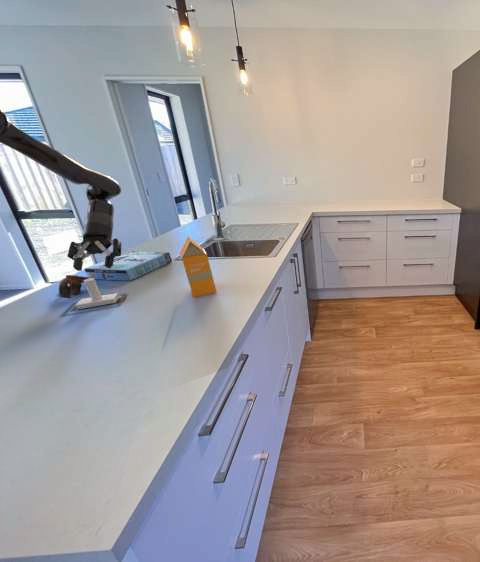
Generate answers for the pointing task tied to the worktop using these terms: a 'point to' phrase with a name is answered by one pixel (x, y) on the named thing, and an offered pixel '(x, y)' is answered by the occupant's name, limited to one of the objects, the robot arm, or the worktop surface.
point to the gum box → (129, 266)
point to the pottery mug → (71, 285)
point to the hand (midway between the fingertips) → (93, 268)
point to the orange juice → (197, 268)
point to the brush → (96, 297)
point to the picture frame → (117, 303)
